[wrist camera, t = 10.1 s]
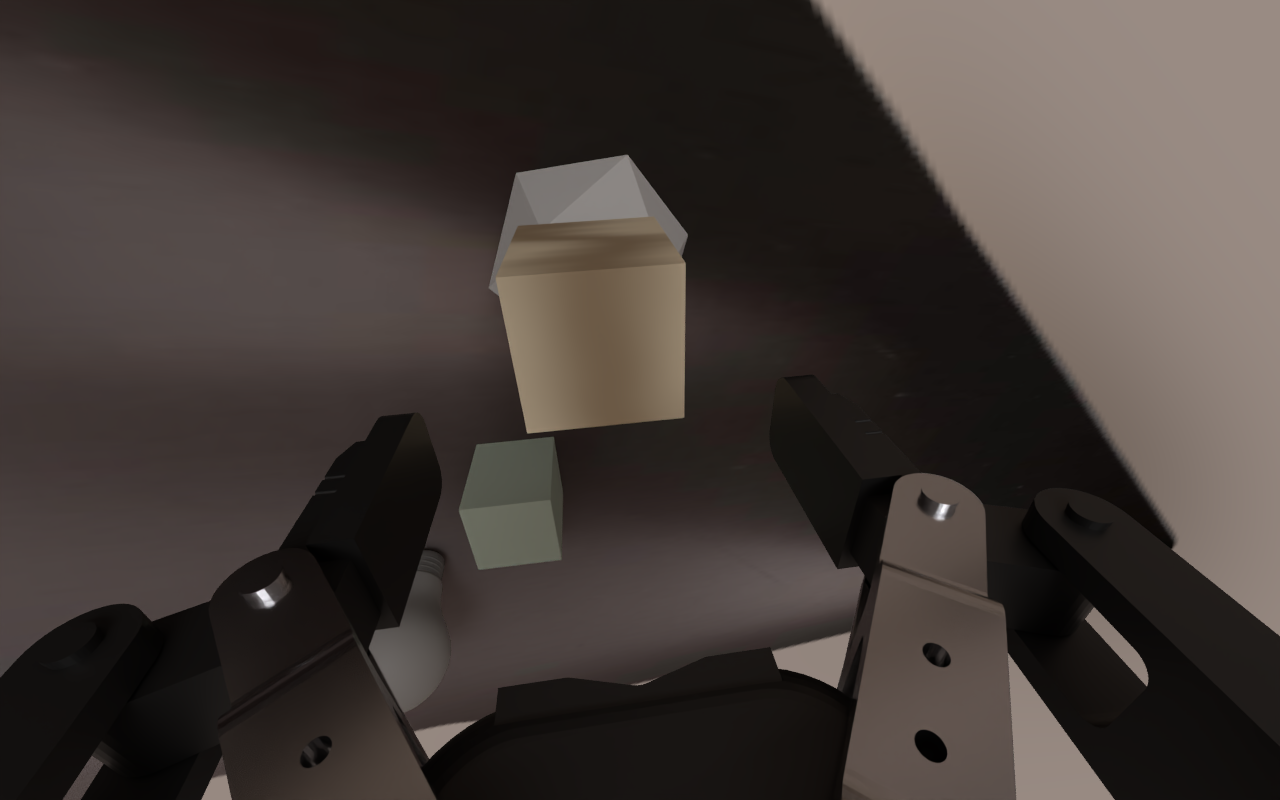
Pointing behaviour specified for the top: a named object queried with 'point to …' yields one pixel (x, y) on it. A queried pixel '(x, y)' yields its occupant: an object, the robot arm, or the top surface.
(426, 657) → the lightbulb
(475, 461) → the sage block
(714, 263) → the top surface
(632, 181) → the die
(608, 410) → the maple block
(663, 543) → the top surface
